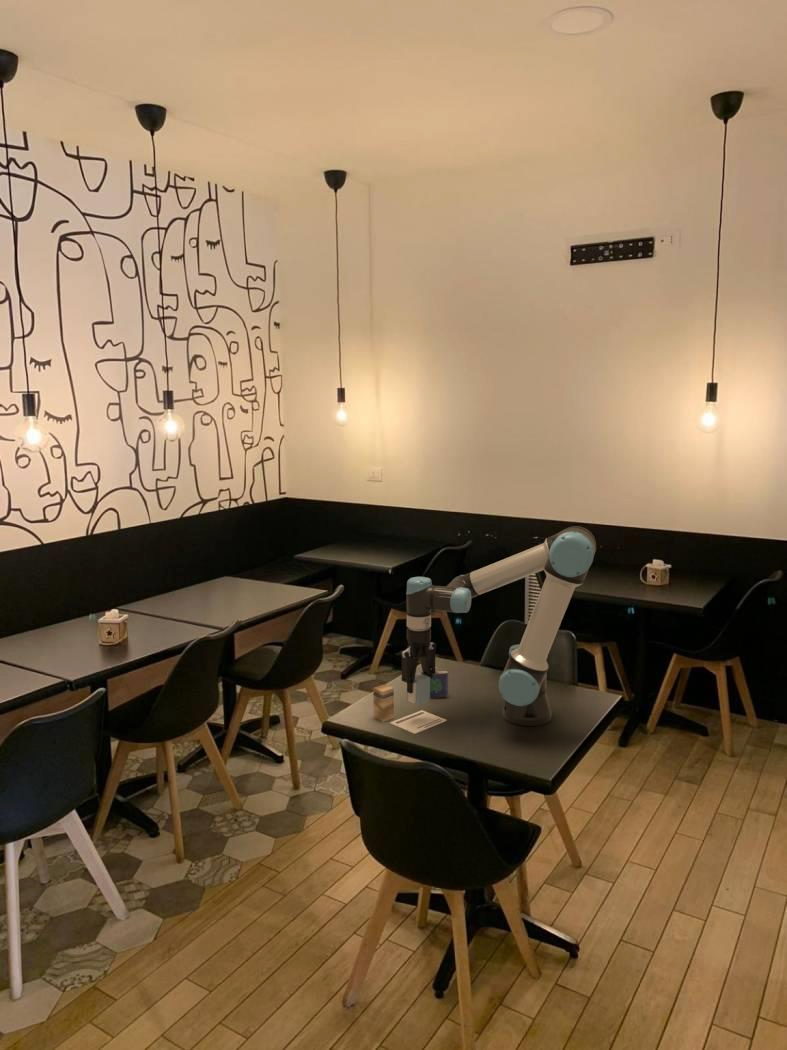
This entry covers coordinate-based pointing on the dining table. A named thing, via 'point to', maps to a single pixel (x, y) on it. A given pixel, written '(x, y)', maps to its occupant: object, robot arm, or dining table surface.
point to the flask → (439, 684)
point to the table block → (383, 703)
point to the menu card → (418, 722)
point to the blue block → (422, 689)
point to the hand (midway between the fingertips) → (418, 699)
